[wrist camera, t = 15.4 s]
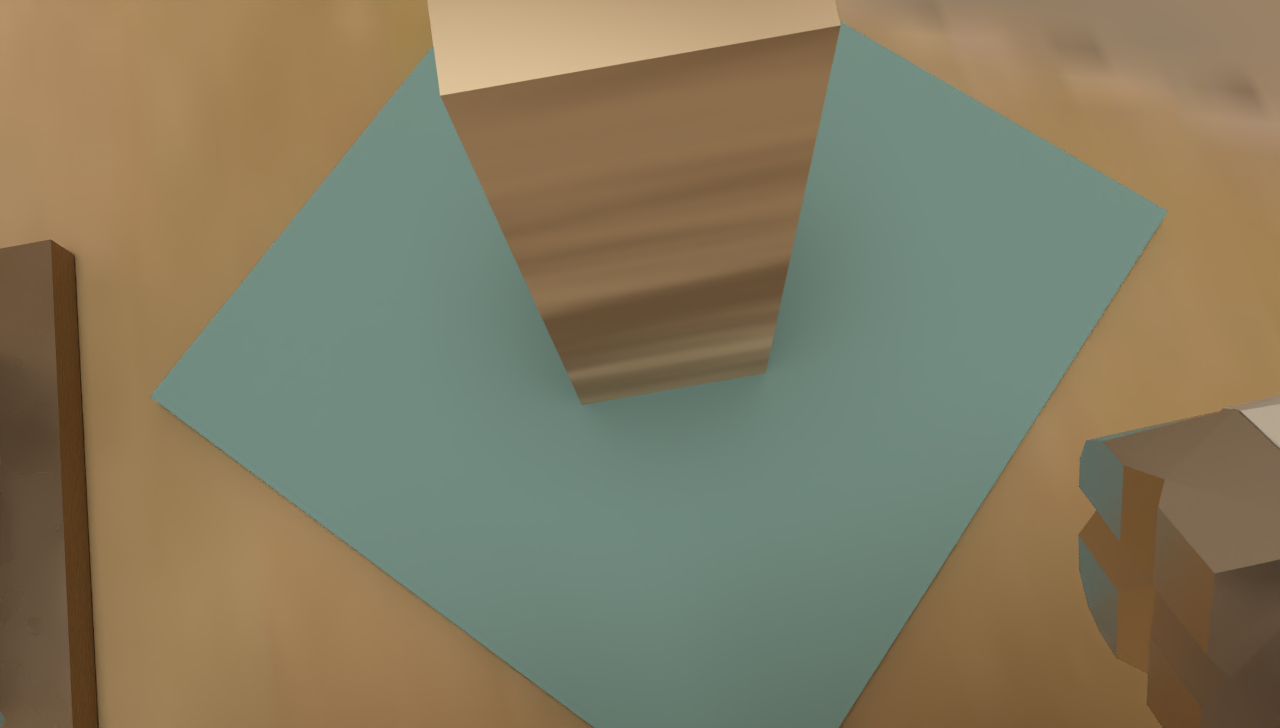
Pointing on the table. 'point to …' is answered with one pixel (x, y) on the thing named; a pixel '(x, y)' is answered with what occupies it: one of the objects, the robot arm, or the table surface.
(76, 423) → the tan hollow square block
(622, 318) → the maple bar
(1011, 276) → the teal mat
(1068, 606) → the table surface
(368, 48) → the table surface
